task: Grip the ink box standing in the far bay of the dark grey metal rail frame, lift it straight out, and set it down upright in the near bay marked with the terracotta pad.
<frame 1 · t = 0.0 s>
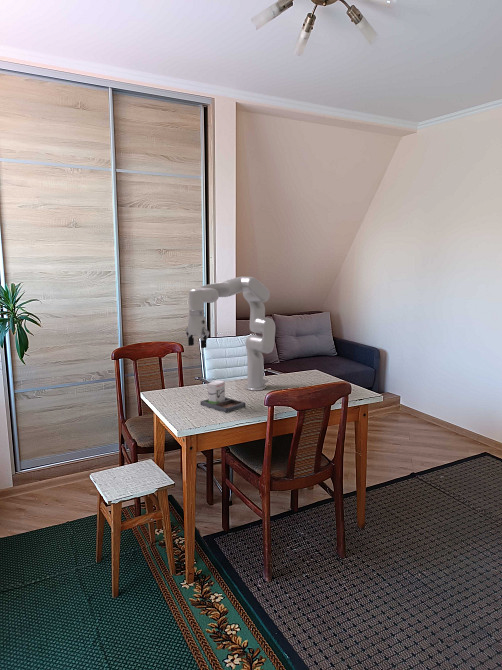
hand: (197, 346, 240), 31 cm above the table, tool pointing down, fingers open, 9 cm apart
ink box: (216, 404, 247), resting in rail frame
rail frame: (222, 405, 244), on the table
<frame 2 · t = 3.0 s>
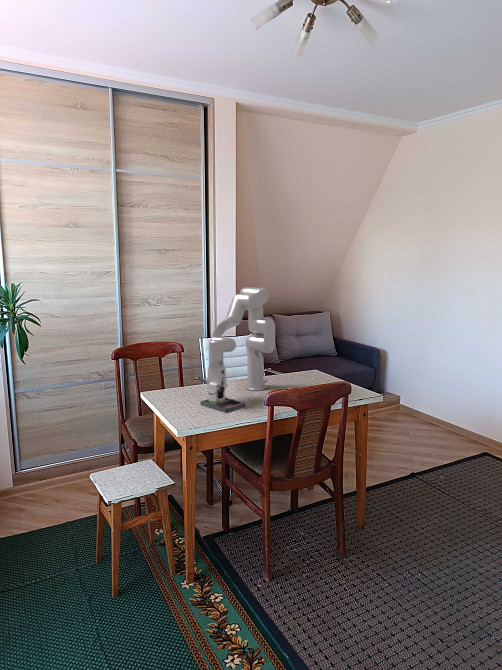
hand: (216, 396, 246), 4 cm above the table, tool pointing down, fingers closed on ink box, 5 cm apart
ink box: (216, 404, 247), resting in rail frame, touching gripper
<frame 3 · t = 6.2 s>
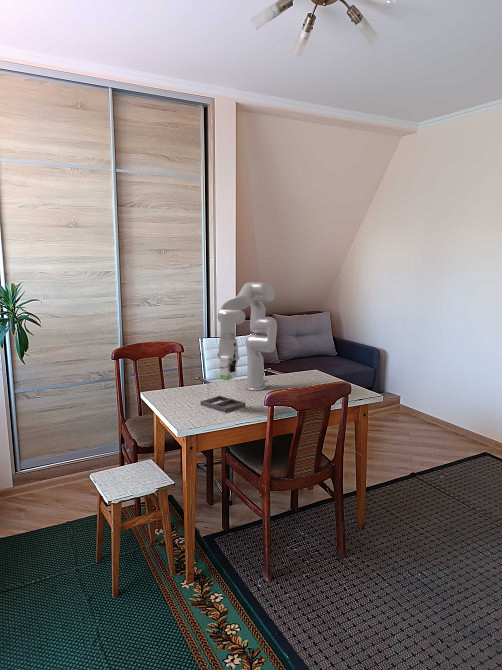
hand: (228, 370, 238), 19 cm above the table, tool pointing down, fingers closed on ink box, 5 cm apart
ink box: (228, 378, 239), point 15 cm above the table, touching gripper
when the fingers open (5 cm above the table, at t = 9.3 s): ink box stays where it is, resting on rail frame.
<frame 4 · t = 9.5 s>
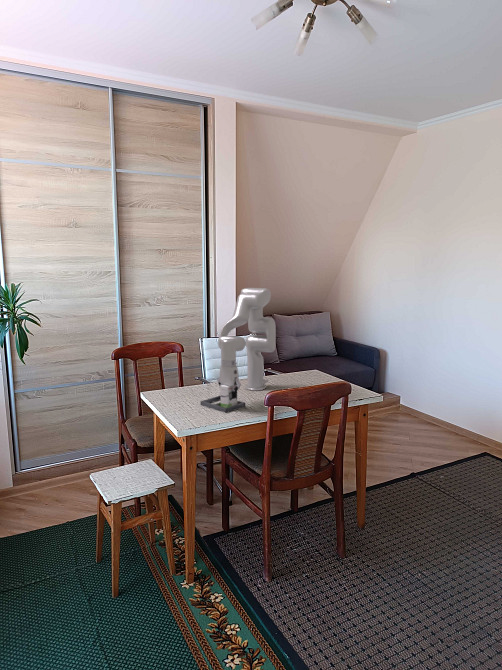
hand: (228, 396, 240), 6 cm above the table, tool pointing down, fingers open, 7 cm apart
ink box: (229, 407, 241), resting on rail frame
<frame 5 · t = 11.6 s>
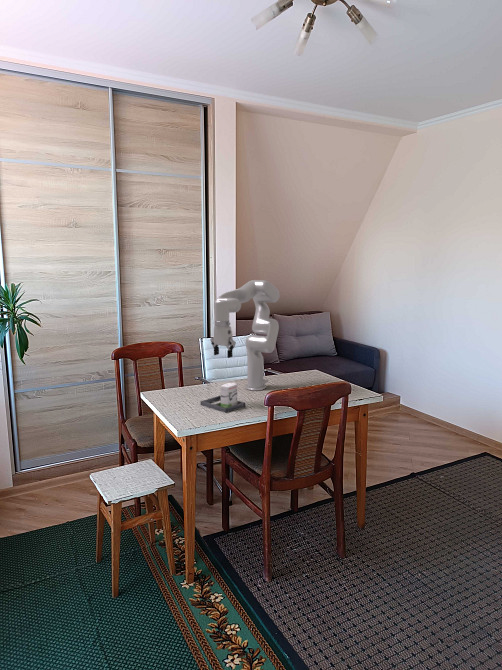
hand: (223, 356, 244), 25 cm above the table, tool pointing down, fingers open, 9 cm apart
nothing on the table moved.
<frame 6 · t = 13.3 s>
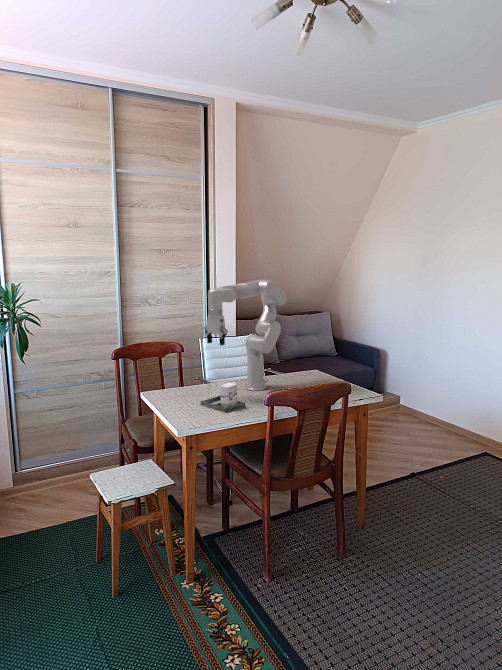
hand: (215, 344, 252), 30 cm above the table, tool pointing down, fingers open, 9 cm apart
nothing on the table moved.
at the end: ink box 0.2 cm from the target spot on the rail frame, point 0.1 cm above the rail frame's base; ink box tilted 0°; the gripper is holding nothing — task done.
